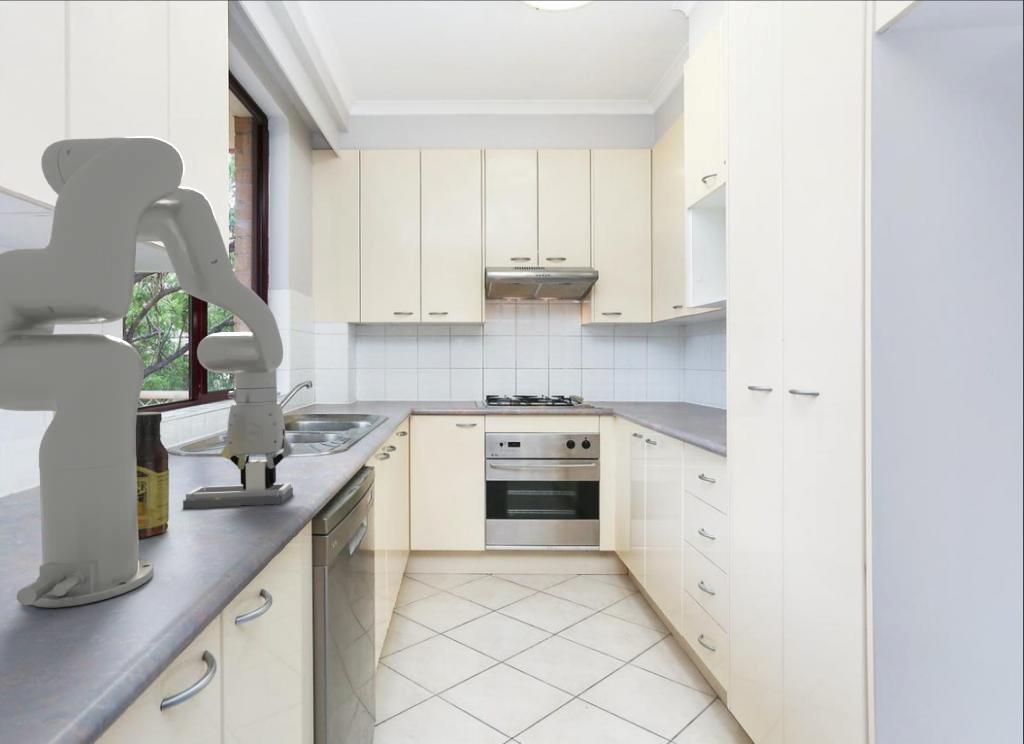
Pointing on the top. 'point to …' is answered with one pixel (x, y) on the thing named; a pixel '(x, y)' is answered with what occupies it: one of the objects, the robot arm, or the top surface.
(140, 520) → the sauce bottle
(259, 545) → the top surface
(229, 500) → the grey shallow tray
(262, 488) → the fader cap
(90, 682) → the top surface
